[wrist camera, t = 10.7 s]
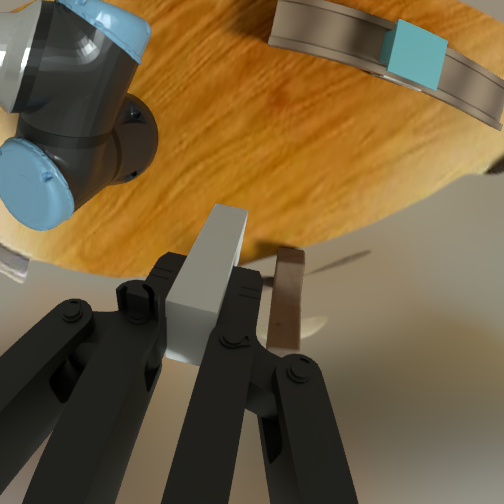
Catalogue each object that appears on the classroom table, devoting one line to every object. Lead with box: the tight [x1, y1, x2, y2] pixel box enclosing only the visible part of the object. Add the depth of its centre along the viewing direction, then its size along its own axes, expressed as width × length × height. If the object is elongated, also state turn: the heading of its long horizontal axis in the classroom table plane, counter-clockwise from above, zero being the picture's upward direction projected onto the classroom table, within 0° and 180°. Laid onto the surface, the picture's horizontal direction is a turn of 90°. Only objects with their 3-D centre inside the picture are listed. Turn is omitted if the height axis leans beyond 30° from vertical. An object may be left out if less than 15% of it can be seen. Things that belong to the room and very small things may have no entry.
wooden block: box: [266, 248, 305, 358], centre depth 47 cm, size 9×4×18 cm, turn 176°
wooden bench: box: [268, 0, 504, 131], centre depth 31 cm, size 32×7×8 cm, turn 79°
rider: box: [379, 19, 448, 91], centre depth 26 cm, size 6×6×5 cm
